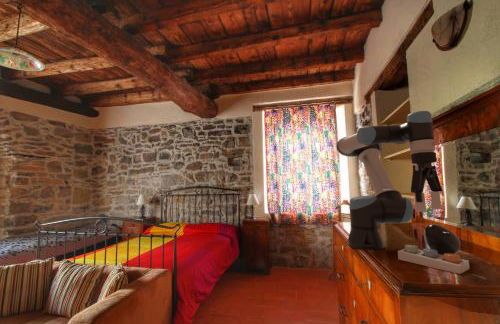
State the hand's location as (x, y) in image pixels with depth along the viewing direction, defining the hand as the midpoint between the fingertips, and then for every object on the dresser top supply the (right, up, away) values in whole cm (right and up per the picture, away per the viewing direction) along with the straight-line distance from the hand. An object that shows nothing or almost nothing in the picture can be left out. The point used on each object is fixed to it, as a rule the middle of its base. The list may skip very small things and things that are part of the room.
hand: (429, 210), depth 83 cm
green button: (-4, -17, +3) cm, 17 cm away
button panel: (-1, -19, -2) cm, 19 cm away
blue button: (-1, -16, -2) cm, 16 cm away
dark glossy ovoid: (+13, -16, +7) cm, 21 cm away
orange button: (+2, -16, -7) cm, 17 cm away
